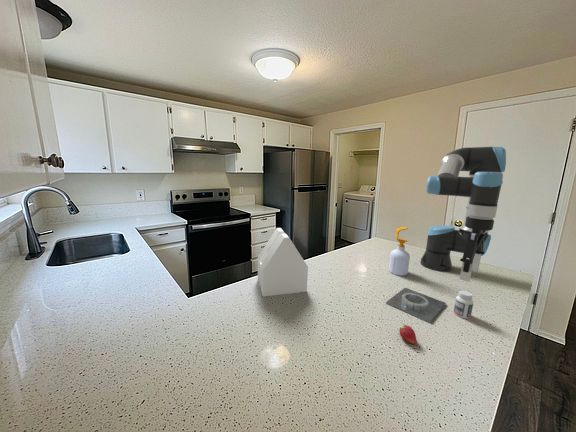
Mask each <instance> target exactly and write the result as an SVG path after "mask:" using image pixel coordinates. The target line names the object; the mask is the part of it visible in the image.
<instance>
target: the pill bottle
mask: <svg viewBox="0 0 576 432" xmlns="http://www.w3.org/2000/svg"><path fill="white" fill-rule="evenodd" d="M473 308H474V300H473V294H472V293H471V292H469V291H466V290H463V289H462V290H459V291H458V295H457V296H456V297H455V301H454V307H453V314H455V316H457V317H459V318H461V319H470V318H472V313H473Z"/></svg>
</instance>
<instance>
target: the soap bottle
mask: <svg viewBox="0 0 576 432" xmlns="http://www.w3.org/2000/svg"><path fill="white" fill-rule="evenodd" d="M405 230H408V227H407V226H401V227H397V228H396V230H395V239H396V240H397V241H398V243H399V244H397V248H396V249H393V250H392V251H391V252H390V255H389V256H390V257H389V263H388V264H389V266H388V272H390V273H391V274H393V275H395V276H401V277H402V276H407V275H408V274H409V266H410V260H411V255H410V253H409V252H408V251H407V250H405V248H406V246H405V243H408V242H409V241H408V240H407V239H405V238H399V234H400V232H401V231H405Z"/></svg>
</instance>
